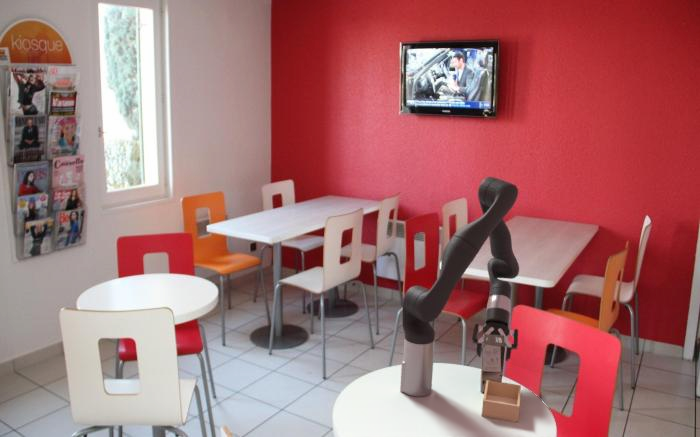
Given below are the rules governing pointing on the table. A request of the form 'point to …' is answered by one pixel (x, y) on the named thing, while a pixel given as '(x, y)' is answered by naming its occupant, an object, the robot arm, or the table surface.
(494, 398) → the open box
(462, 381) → the table surface
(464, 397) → the table surface
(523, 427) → the table surface
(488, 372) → the coffee box
